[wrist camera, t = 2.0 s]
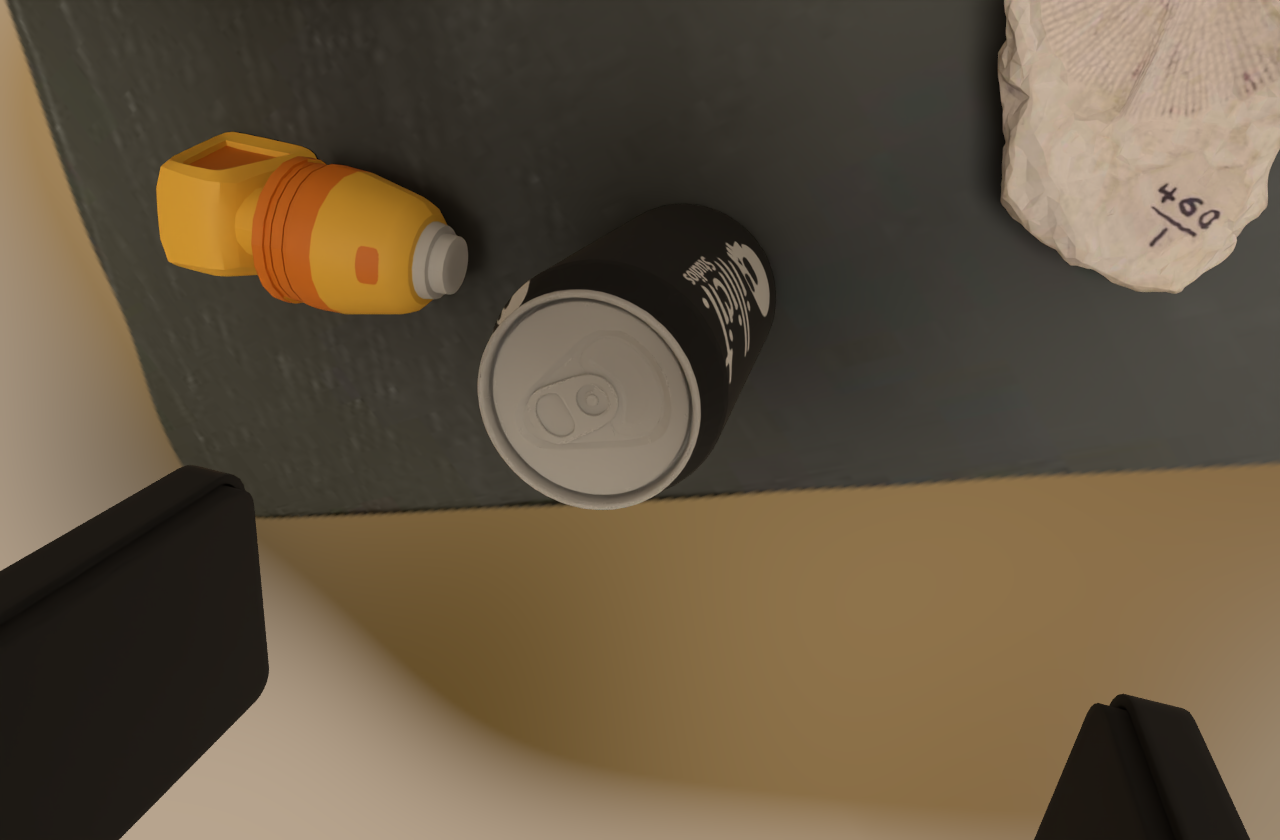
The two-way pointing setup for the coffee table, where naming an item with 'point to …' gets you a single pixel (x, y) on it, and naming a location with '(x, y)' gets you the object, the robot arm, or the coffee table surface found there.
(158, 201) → the yellow plastic toy
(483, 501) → the coffee table surface
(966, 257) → the coffee table surface
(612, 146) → the coffee table surface
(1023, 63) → the fossil
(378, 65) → the coffee table surface
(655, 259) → the beverage can
